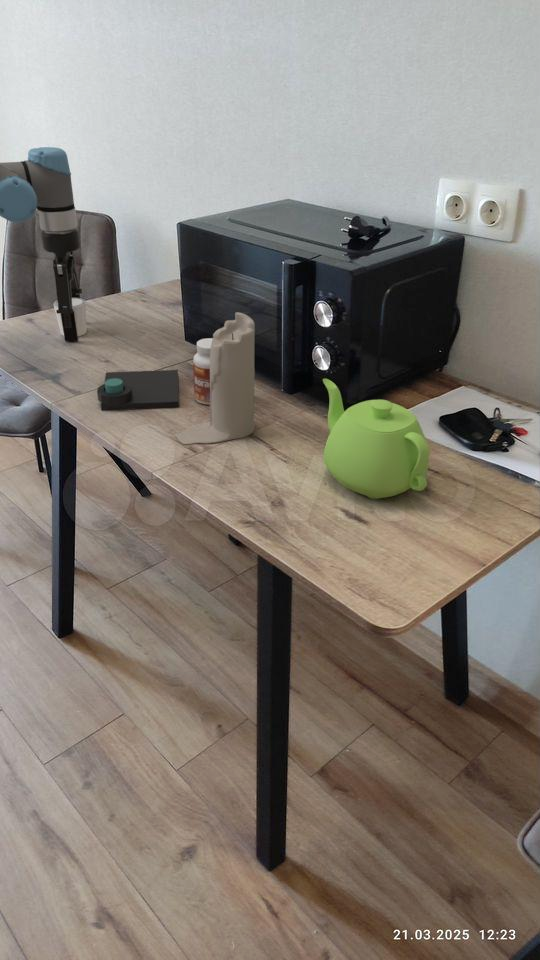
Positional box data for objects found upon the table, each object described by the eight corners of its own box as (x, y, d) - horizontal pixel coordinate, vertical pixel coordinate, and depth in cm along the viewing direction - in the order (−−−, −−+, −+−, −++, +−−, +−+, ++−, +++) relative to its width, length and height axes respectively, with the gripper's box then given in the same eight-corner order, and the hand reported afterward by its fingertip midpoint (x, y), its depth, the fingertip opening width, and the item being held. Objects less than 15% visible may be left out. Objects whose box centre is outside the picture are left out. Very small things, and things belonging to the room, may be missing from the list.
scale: (97, 412, 126) (95, 397, 125) (103, 377, 138) (102, 363, 137) (179, 408, 128) (178, 393, 126) (178, 375, 140) (177, 361, 138)
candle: (170, 430, 121) (162, 319, 110) (243, 416, 126) (243, 307, 115) (184, 450, 116) (177, 334, 105) (260, 434, 121) (262, 322, 110)
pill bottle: (189, 403, 130) (187, 347, 124) (200, 389, 135) (198, 334, 129) (221, 408, 129) (220, 351, 122) (231, 393, 134) (231, 338, 127)
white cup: (53, 336, 156) (48, 306, 152) (64, 325, 161) (60, 296, 158) (82, 339, 155) (78, 308, 151) (93, 327, 161) (89, 298, 157)
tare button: (105, 394, 126) (104, 386, 125) (106, 387, 129) (105, 378, 128) (123, 394, 127) (122, 385, 126) (124, 386, 129) (123, 377, 128)
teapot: (286, 461, 113) (288, 387, 106) (352, 433, 121) (358, 363, 114) (387, 526, 99) (398, 445, 92) (454, 489, 107) (469, 413, 100)
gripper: (48, 217, 155) (63, 314, 167) (32, 244, 136) (50, 351, 148) (82, 216, 156) (95, 313, 168) (71, 244, 137) (86, 350, 149)
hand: (74, 331), depth 158 cm, fingers open, 10 cm apart
